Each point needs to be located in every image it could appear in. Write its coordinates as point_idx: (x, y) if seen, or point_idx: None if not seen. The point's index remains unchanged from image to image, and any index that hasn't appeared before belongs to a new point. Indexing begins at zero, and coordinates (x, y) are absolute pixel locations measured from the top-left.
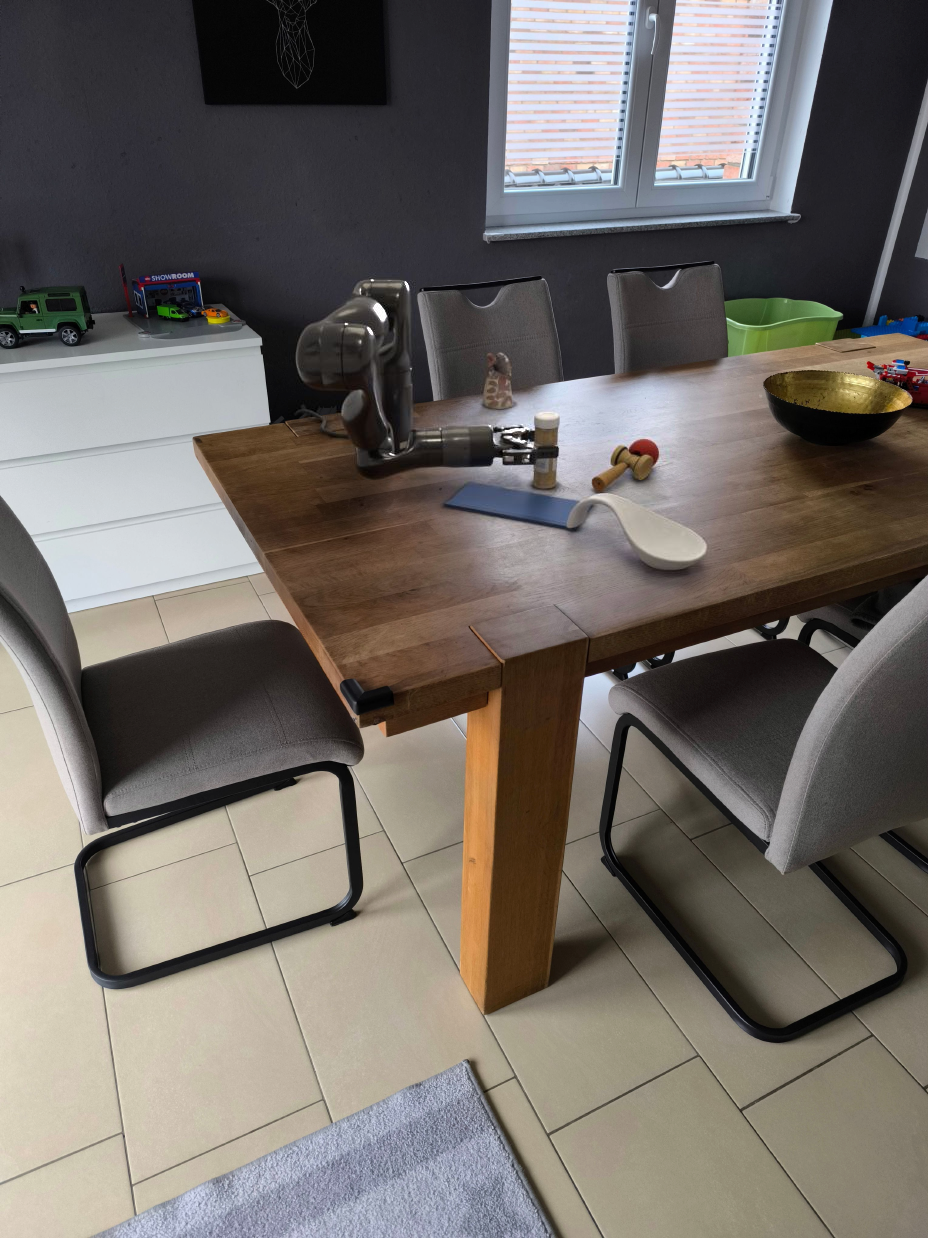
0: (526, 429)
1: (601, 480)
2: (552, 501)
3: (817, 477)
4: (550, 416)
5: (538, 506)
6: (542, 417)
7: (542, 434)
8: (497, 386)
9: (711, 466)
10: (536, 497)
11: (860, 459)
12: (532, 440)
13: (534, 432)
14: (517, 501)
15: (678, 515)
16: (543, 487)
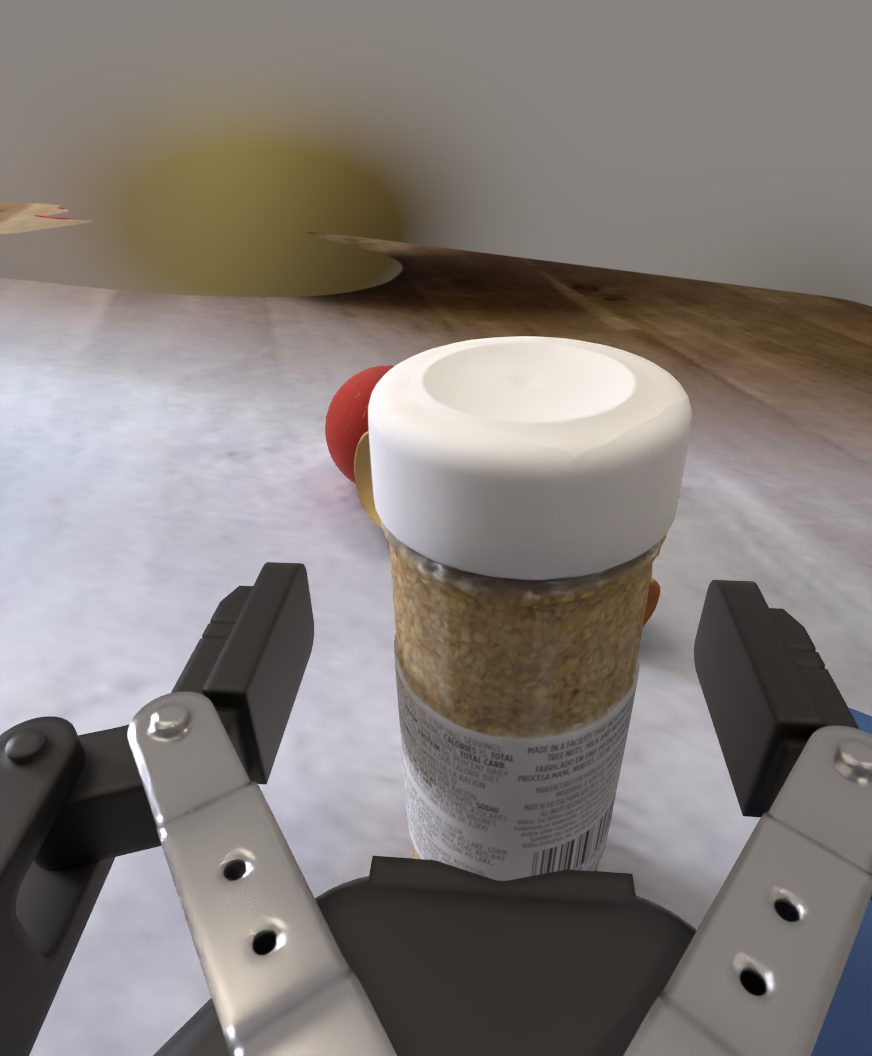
0: (200, 721)
1: (657, 586)
2: (863, 919)
3: (528, 308)
4: (587, 370)
5: None
6: (625, 413)
7: (644, 595)
8: None
9: None
10: (818, 1037)
11: (448, 273)
12: (272, 751)
13: (264, 674)
14: None
15: (832, 494)
16: None
